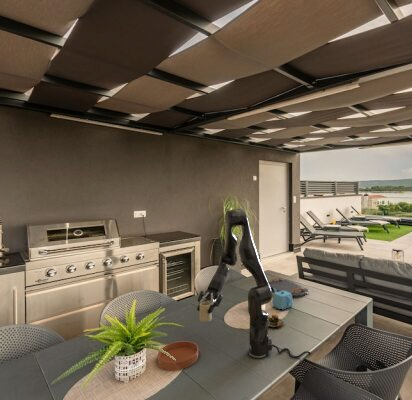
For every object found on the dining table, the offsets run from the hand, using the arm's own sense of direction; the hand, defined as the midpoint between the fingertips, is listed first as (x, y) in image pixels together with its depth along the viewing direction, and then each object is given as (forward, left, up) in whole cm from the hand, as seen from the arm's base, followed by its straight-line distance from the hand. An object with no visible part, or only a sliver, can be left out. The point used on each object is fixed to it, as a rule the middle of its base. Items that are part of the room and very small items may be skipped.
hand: (203, 311), depth 145 cm
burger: (-39, -18, -17) cm, 46 cm away
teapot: (-47, -45, -16) cm, 67 cm away
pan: (+9, +14, -16) cm, 23 cm away
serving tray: (-55, -79, -16) cm, 97 cm away
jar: (-1, -1, -5) cm, 5 cm away
